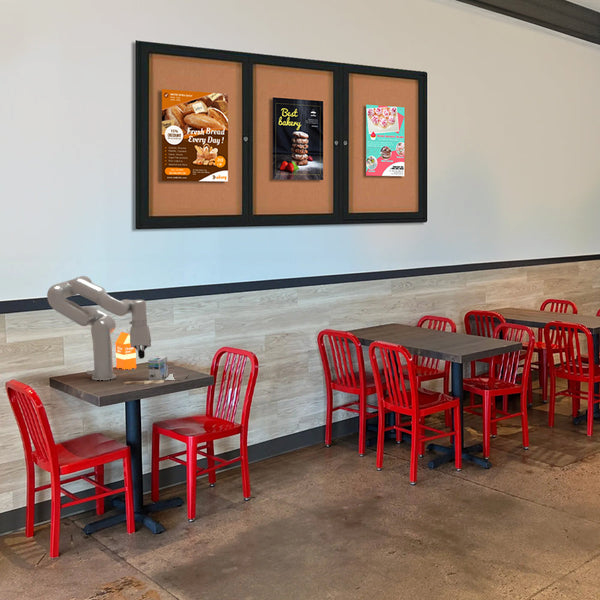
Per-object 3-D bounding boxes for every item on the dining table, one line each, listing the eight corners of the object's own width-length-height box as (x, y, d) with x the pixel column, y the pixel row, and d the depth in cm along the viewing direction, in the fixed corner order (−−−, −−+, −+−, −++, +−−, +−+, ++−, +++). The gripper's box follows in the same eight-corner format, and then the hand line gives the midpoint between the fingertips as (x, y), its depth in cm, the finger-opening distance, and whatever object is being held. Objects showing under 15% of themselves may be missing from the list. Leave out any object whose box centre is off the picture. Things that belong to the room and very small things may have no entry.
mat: (164, 380, 391) (164, 379, 391) (170, 374, 405) (170, 373, 405) (184, 380, 391) (184, 379, 391) (189, 374, 405) (189, 373, 404)
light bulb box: (160, 380, 391) (159, 360, 390) (148, 380, 393) (147, 359, 391) (168, 376, 402) (167, 356, 400) (156, 375, 403) (155, 355, 402)
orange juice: (124, 370, 417) (122, 334, 415) (116, 367, 424) (114, 332, 421) (136, 368, 423) (135, 332, 420) (128, 365, 429) (127, 330, 427)
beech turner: (123, 385, 381) (123, 383, 381) (123, 382, 387) (123, 381, 387) (163, 383, 386) (163, 381, 385) (163, 380, 391) (163, 379, 391)
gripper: (123, 325, 391) (125, 359, 393) (152, 324, 390) (154, 359, 392) (127, 322, 398) (129, 357, 400) (155, 322, 397) (157, 356, 400)
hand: (141, 358), depth 396 cm, fingers closed
